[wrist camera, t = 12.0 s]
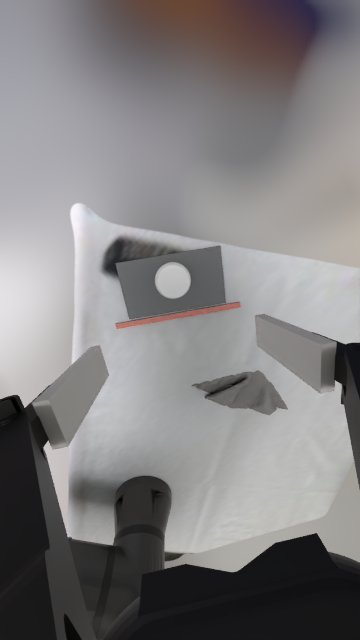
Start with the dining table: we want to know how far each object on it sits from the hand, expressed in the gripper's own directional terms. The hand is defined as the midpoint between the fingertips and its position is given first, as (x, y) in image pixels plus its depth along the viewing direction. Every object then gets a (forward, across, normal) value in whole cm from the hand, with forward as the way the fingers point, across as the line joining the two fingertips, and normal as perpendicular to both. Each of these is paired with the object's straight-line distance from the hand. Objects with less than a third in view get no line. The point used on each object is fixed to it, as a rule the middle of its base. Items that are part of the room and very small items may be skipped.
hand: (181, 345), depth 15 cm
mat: (+22, +1, +4) cm, 23 cm away
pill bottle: (+22, +1, +5) cm, 23 cm away
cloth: (+24, +13, -25) cm, 37 cm away
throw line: (+22, +1, -2) cm, 23 cm away
